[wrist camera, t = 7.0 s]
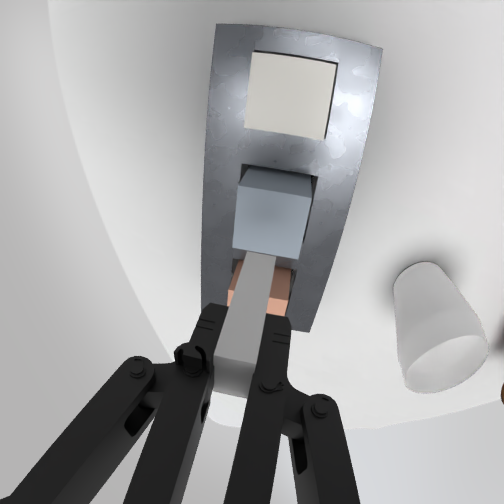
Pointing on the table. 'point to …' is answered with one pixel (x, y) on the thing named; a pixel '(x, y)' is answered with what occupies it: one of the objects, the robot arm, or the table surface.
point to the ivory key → (289, 95)
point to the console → (283, 156)
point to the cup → (435, 330)
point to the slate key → (272, 211)
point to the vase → (502, 394)
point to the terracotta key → (277, 291)
